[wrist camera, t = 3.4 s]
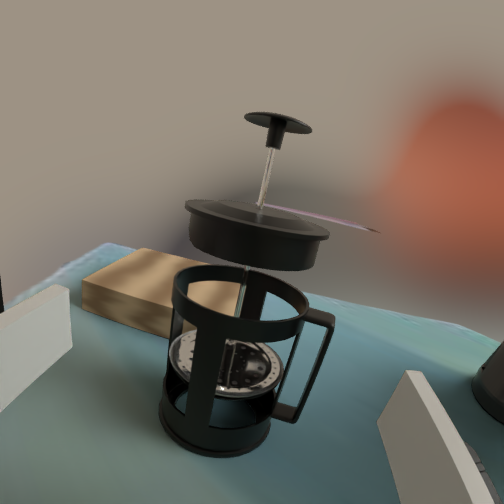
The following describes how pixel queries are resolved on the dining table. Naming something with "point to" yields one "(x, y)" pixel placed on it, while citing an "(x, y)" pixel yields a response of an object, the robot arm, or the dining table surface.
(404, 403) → the robot arm
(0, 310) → the digital camera
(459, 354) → the dining table surface
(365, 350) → the dining table surface
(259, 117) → the french press
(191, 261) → the oak base
